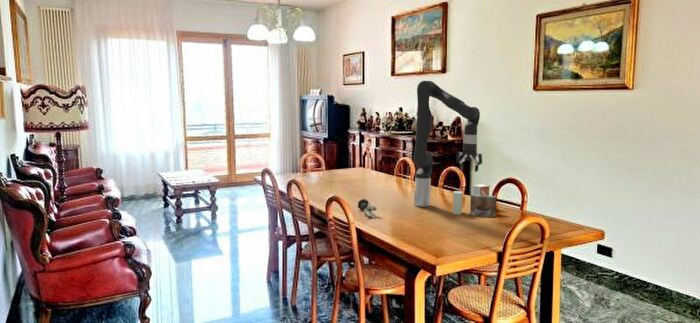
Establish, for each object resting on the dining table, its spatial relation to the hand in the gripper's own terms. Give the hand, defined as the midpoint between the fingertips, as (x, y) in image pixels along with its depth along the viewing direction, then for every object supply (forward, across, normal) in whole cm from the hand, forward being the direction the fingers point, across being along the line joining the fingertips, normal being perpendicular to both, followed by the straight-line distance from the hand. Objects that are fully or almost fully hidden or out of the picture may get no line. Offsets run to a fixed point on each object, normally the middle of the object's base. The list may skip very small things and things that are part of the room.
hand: (468, 170), depth 270 cm
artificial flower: (+25, -46, -34) cm, 62 cm away
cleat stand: (+24, +10, -2) cm, 26 cm away
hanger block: (+24, -4, -5) cm, 25 cm away
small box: (+24, +3, +17) cm, 30 cm away
